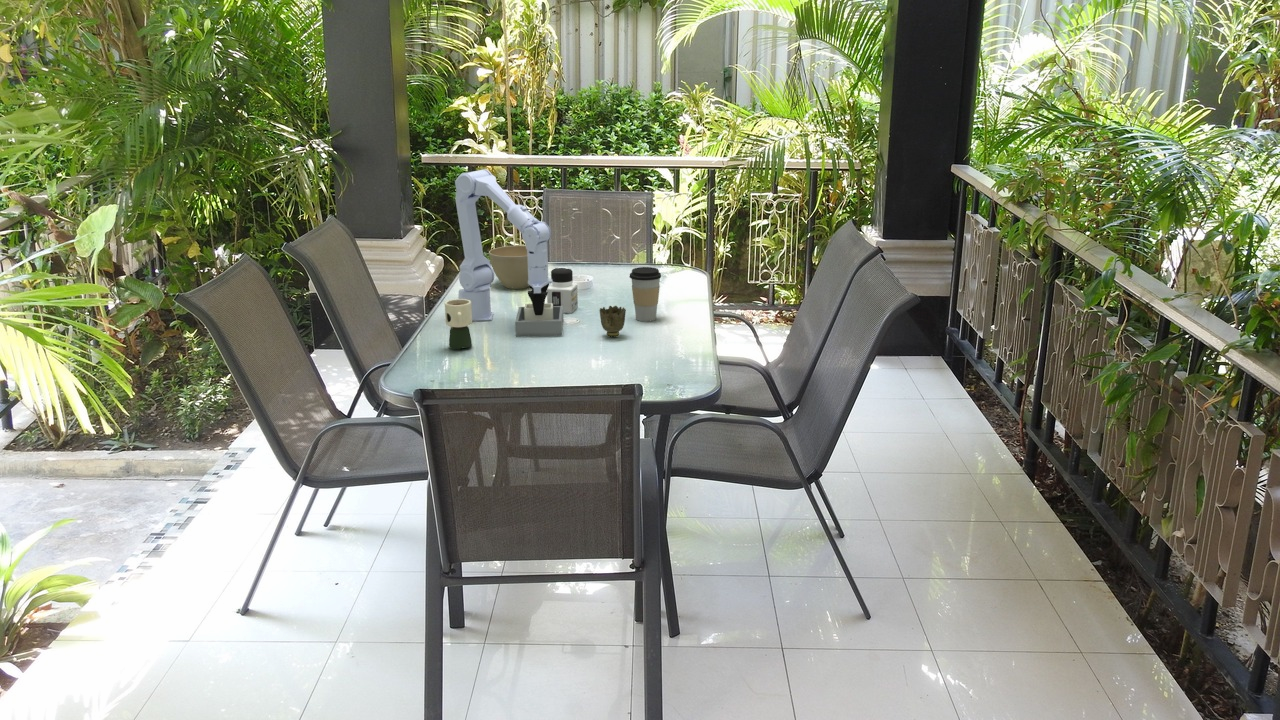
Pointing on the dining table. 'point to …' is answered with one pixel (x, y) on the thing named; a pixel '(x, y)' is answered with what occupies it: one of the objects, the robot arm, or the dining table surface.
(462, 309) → the character mug
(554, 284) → the container
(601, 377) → the dining table surface
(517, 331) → the grey crate
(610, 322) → the cup
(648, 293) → the coffee cup
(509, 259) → the flower pot
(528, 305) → the cream crate
